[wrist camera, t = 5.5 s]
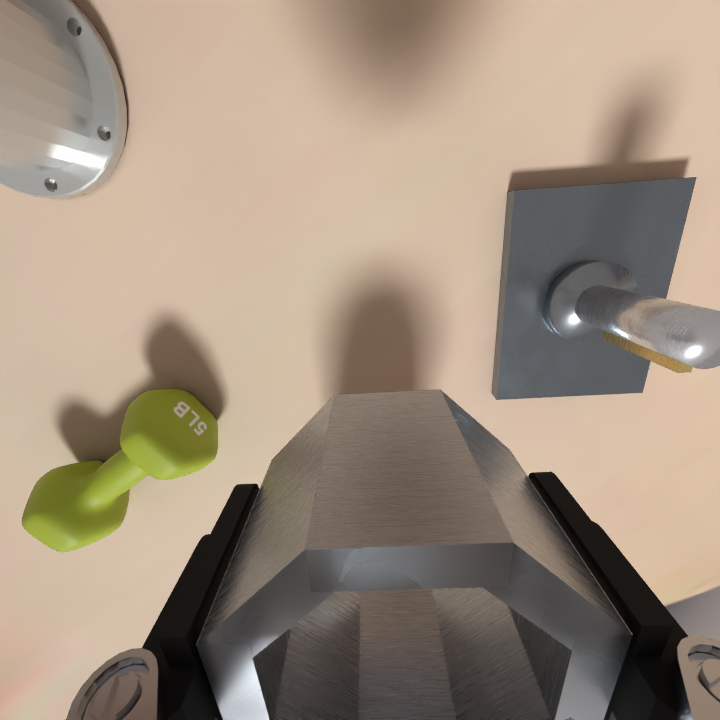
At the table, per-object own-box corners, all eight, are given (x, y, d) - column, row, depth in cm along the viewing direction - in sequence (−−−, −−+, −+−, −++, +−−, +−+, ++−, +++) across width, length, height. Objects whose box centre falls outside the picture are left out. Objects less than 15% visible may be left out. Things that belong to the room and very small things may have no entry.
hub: (260, 398, 10) (162, 553, 5) (516, 385, 9) (666, 536, 5) (293, 577, 12) (248, 791, 8) (495, 571, 12) (580, 788, 7)
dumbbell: (177, 367, 30) (122, 406, 23) (240, 430, 32) (206, 483, 25) (64, 458, 33) (-13, 515, 27) (127, 509, 36) (71, 574, 29)
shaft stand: (507, 192, 24) (618, 160, 14) (680, 179, 24) (936, 136, 13) (491, 393, 30) (561, 482, 19) (631, 386, 29) (783, 473, 19)
